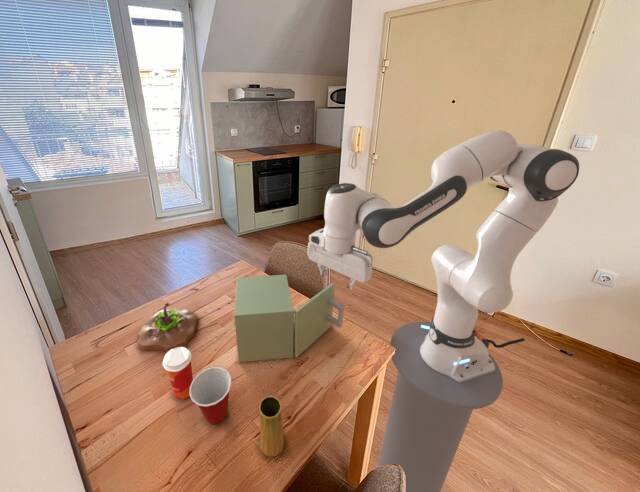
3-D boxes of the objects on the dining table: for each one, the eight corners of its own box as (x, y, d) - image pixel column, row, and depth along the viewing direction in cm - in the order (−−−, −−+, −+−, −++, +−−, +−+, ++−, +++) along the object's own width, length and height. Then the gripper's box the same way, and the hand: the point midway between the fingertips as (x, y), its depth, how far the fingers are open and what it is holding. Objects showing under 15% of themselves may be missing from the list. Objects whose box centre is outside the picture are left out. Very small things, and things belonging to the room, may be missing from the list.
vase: (262, 460, 70) (260, 423, 64) (257, 434, 76) (254, 397, 70) (286, 452, 72) (286, 415, 66) (280, 427, 77) (279, 391, 71)
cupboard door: (344, 334, 106) (349, 290, 98) (310, 368, 93) (312, 321, 85) (329, 324, 110) (332, 282, 102) (294, 355, 98) (294, 310, 90)
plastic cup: (192, 404, 83) (185, 374, 78) (229, 389, 87) (225, 360, 82) (198, 442, 74) (192, 411, 69) (239, 424, 78) (236, 394, 73)
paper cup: (170, 382, 89) (162, 348, 84) (196, 375, 91) (190, 342, 86) (169, 406, 82) (161, 371, 77) (197, 398, 84) (191, 364, 79)
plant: (204, 314, 117) (201, 291, 112) (185, 354, 99) (180, 328, 94) (157, 310, 119) (151, 288, 114) (129, 349, 101) (122, 324, 96)
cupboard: (286, 316, 115) (286, 274, 107) (293, 357, 97) (293, 311, 89) (240, 319, 113) (236, 277, 105) (238, 362, 96) (234, 315, 88)
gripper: (379, 248, 77) (373, 291, 83) (317, 227, 91) (316, 265, 96) (367, 258, 73) (362, 302, 79) (304, 234, 86) (304, 273, 92)
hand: (336, 281), depth 88 cm, fingers open, 8 cm apart
